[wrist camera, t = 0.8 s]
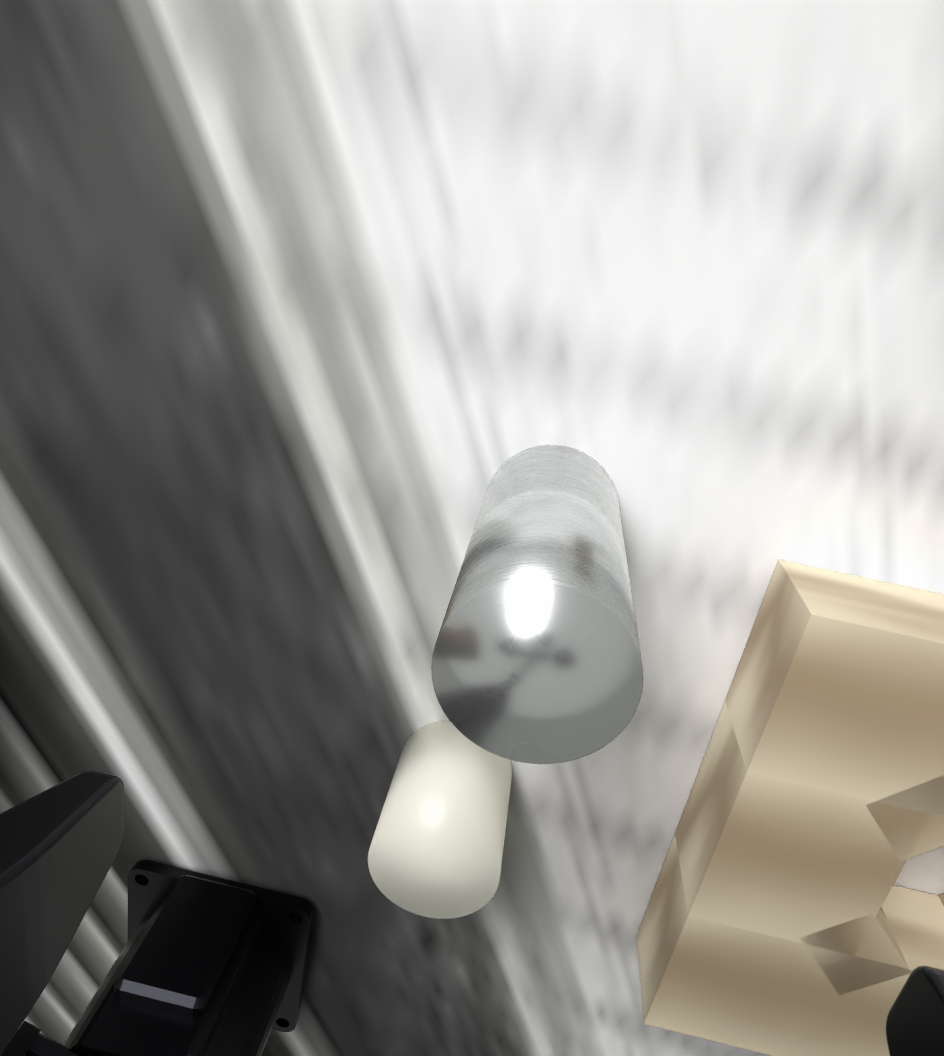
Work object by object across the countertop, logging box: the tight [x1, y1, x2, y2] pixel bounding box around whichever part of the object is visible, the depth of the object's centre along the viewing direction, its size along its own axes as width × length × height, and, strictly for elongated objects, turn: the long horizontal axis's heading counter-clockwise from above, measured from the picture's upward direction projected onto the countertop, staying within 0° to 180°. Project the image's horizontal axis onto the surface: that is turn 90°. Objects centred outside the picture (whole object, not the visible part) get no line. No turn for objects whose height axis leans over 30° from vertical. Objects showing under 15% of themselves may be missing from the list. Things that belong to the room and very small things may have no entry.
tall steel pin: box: [432, 445, 643, 764], centre depth 16 cm, size 4×4×8 cm
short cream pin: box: [368, 721, 512, 919], centre depth 22 cm, size 4×4×4 cm
